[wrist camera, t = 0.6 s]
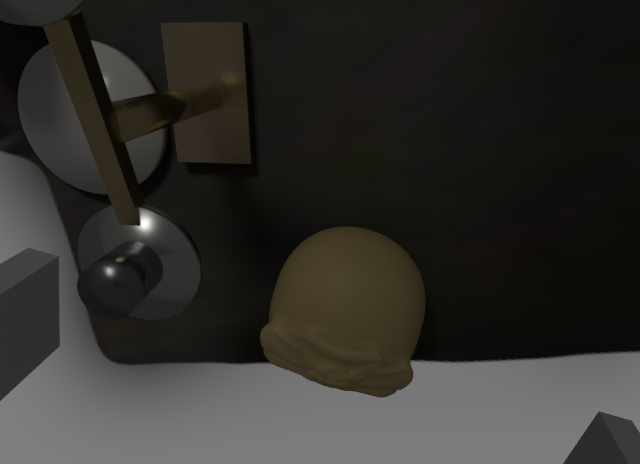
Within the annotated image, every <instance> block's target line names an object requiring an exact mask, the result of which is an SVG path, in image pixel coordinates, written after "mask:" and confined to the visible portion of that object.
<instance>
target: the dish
mask: <svg viewBox="0 0 640 464" xmlns="http://www.w3.org/2000/svg"><path fill="white" fill-rule="evenodd" d="M91 42H92V45H93V48H94V51H95V54H96V57H97V60H98V63H99V66H100V69H101V72H102V75H103V78H104V81H105V84H106V87H107V90H108V93H109V96H110V99H111V102H113V101H118V100H123V99H128V98H133V97H138V96H143V95H148V94H152V93H157V92H159V91H158V89H157V87H156V86H155V84H154V82H153V81H152V79H151V78H150V76H149V75H148V74H147V72H146V71H145V70H144V69H143V68H142V67H141V66H140V65H139V64H138V63H137V62H136V61H135V60H134V59H133V58H131V57H130V56H129V55H127V54H126V53H125V52H123V51H122V50H120V49H118V48H116V47H114V46H112V45H109V44H107V43H104V42H101V41H96V40H91ZM18 110H19V115H20V120H21V123H22V127H23V130H24V132H25V134H26V137H27V139H28V141H29V143H30V145H31V146H32V148H33V150H34V151H35V153H36V154H37V156H38V157H39V158H40V159H41V161H42V162H43V163H44V164H45V165H46V166H47V167H48V168H49V169H50V170H51V171H52V172H53V173H54V174H56V175H57V176H58V177H59V178H61V179H62V180H64V181H65V182H67V183H68V184H70V185H72V186H74V187H76V188H79V189H81V190H84V191H87V192H92V193H97V194H108V193H107V191H106V188H105V186H104V183H103V181H102V178H101V175H100V173H99V170H98V168H97V165H96V162H95V160H94V157H93V155H92V152H91V150H90V147H89V144H88V142H87V139H86V137H85V134H84V132H83V129H82V126H81V124H80V121H79V119H78V116H77V113H76V111H75V108H74V106H73V103H72V101H71V98H70V95H69V93H68V90H67V88H66V85H65V83H64V80H63V77H62V75H61V72H60V70H59V67H58V64H57V62H56V59H55V57H54V54H53V52H52V49H51V46H50V44H48V45H46V46H45V47H43V48H42V49H40V50H39V51H38V52H37V53H36V54H35V55H33V56H32V58H31V59H30V60H29V62H28V63H27V65H26V67H25V69H24V71H23V73H22V76H21V79H20V83H19V88H18ZM168 132H169V130H168V127H166V128H163V129H160V130H158V131H155V132H152V133H149V134H147V135H144V136H141V137H139V138H136V139H133V140H131V141H128V142H125V144H126V147H127V150H128V153H129V156H130V159H131V162H132V165H133V168H134V171H135V174H136V177H137V180H138V183H139V184H141V183H142V182H144V181H145V180H147V179H148V178H149V177H150V176H151V175H152V174H153V173H154V172H155V171H156V170H157V168H158V167H159V165H160V163H161V161H162V160H163V158H164V155H165V152H166V148H167V143H168Z"/></svg>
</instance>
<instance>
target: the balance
mask: <svg viewBox="0 0 640 464" xmlns="http://www.w3.org/2000/svg"><path fill="white" fill-rule="evenodd" d="M89 2H90V0H0V21H3V22H6V23H11V24H15V25H27V26H43V28H44V31H45V34H46V36H47V39H48V41H49V44H50V46H51V49H52V52H53V54H54V57H55V59H56V62H57V64H58V67H59V70H60V72H61V75H62V77H63V80H64V83H65V85H66V88H67V90H68V93H69V95H70V98H71V101H72V103H73V106H74V108H75V111H76V113H77V116H78V119H79V121H80V124H81V126H82V129H83V132H84V134H85V137H86V139H87V142H88V144H89V147H90V150H91V152H92V155H93V157H94V160H95V162H96V165H97V168H98V170H99V173H100V175H101V178H102V181H103V183H104V186H105V188H106V191H107V193H108V196H109V199H110V201H111V204H112V205H111V206H109V207H107V208H105V209H103V210H101V211H100V212H98V213H96V214H95V215H94V216H92V217H91V218H90V219H89V220H88V221H87V223H86V224H85V226H84V227H83V229H82V231H81V233H80V237H79V240H78V259H79V263H80V267H81V270H82V273H81V274H80V276H79V278H78V283H77V288H78V293H79V296H80V298H81V300H82V302H83V303H84V304H85V305H86V307H87V308H88V309H90V310H91V311H92V312H93V313H95V314H97V315H98V316H101V317H103V318H107V319H121V318H124V317H126V316H127V315H129V316H132V317H135V318H139V319H146V320H157V319H164V318H168V317H171V316H173V315H175V314H177V313H179V312H181V311H182V310H183V309H184V308H185V307H186V306H187V305H188V304H189V303H190V302H191V301H192V299H193V298H194V296H195V295H196V293H197V292H198V290H199V287H200V284H201V280H202V261H201V257H200V253H199V250H198V248H197V246H196V244H195V242H194V240H193V239H192V237H191V235H190V234H189V233H188V232H187V230H186V229H185V228H184V227H183V226H182V225H181V224H180V223H179V222H178V221H177V220H176V219H174V218H173V217H172V216H170V215H169V214H167V213H166V212H164V211H162V210H160V209H158V208H156V207H153V206H150V205H147V204H145V202H144V199H143V196H142V193H141V189H140V186H139V183H138V180H137V177H136V174H135V171H134V168H133V165H132V162H131V159H130V156H129V153H128V150H127V147H126V144H125V142H128V141H131V140H133V139H136V138H139V137H141V136H144V135H147V134H149V133H152V132H155V131H158V130H160V129H163V128H166V127H168V126H171V125H173V126H174V134H175V142H176V150H177V158H178V162H201V163H231V164H252V163H253V162H254V161H255V145H254V128H253V111H252V95H251V78H250V61H249V44H248V27H247V23H244V22H214V23H160V24H161V32H162V40H163V48H164V56H165V63H166V71H167V79H168V87H169V90H167V91H162V92H157V93H152V94H148V95H143V96H138V97H133V98H128V99H123V100H118V101H113V102H111V99H110V96H109V93H108V90H107V87H106V84H105V81H104V78H103V75H102V72H101V69H100V66H99V63H98V60H97V57H96V54H95V51H94V48H93V45H92V42H91V39H90V36H89V33H88V30H87V27H86V24H85V21H84V18H83V15H82V12H81V10H82V9H83V8H84V7H85V6H86V5H87V4H88V3H89Z"/></svg>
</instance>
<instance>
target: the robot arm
mask: <svg viewBox="0 0 640 464" xmlns="http://www.w3.org/2000/svg"><path fill="white" fill-rule="evenodd" d="M58 260H59V257H58V256H55V255H52V254H48V253H45V252H42V251H37V250H34V249H31V248H27V249H25V250H24V251H22V252H20V253H18V254H17V255H15V256H13V257H12V258H10V259H8V260H6V261H4V262H3V263H1V264H0V401H1V400H2V399H3V398H4V397H5V396H6V395H7V394H8V393H9V392H10V391H11V390H13V389H14V388H15V387H16V386H17V385H18V384H19V383H20V382H21V381H22V380H23V379H24V378H25V377H27V376H28V375H29V374H30V373H31V372H32V371H33V370H34V369H35V368H36V367H37V366H38V365H40V364H41V363H42V362H43V361H44V360H45V359H46V358H47V357H48V356H49V355H50V354H51V353H52V352H54V351H55V349H57V348H58V347H59V345H60V341H59V340H60V338H59V337H60V336H59V261H58ZM563 464H640V433H639V431H638V430H637V428H636V427H635V425H634V423H633V422H632V421H630V420H627V419H623V418H620V417H616V416H613V415H610V414H606V413H603V412H598V414H597V415H596V416H595V418H594V419H593V421H592V422H591V424H590V425H589V427H588V428H587V430H586V431H585V433H584V434H583V436H582V437H581V438H580V440H579V441H578V443H577V444H576V446H575V447H574V449H573V450H572V452H571V453H570V454H569V456H568V458H567V459H566V460H565V462H564V463H563Z"/></svg>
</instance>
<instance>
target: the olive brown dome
mask: <svg viewBox="0 0 640 464" xmlns="http://www.w3.org/2000/svg"><path fill="white" fill-rule="evenodd" d="M424 315H425V289H424V284H423V280H422V277H421V274H420V272H419V270H418V268H417V266H416V264H415V263H414V261H413V260H412V258H411V257H410V256H409V255H408V253H407V252H406V251H405V250H404V249H403V248H402V247H400V246H399V245H398V244H397V243H395V242H394V241H392V240H391V239H389V238H388V237H386V236H384V235H382V234H380V233H377V232H375V231H372V230H368V229H364V228H359V227H335V228H330V229H326V230H323V231H320V232H318V233H316V234H314V235H312V236H310V237H309V238H307V239H306V240H304V241H303V242H302V243H301V244H300V245H299V246H298V247H297V248H296V249H295V250H294V251H293V252H292V253H291V255H290V256H289V258H288V259H287V261H286V262H285V264H284V266H283V268H282V270H281V273H280V275H279V278H278V281H277V284H276V287H275V290H274V293H273V296H272V300H271V304H270V310H269V323H268V324H267V325H265V326H264V327H263V329H262V330H261V333H260V341H261V345H262V347H263V348H264V354H265V356H266V358H267V359H268V360H269V361H270V362H271V363H272V364H274V365H276V366H278V367H281V368H284V369H287V370H289V371H292V372H295V373H297V374H300V375H302V376H303V377H305V378H307V379H308V380H311V381H314V382H317V383H319V384H321V385H324V386H328V387H331V388H337V389H340V390H345V391H356V392H360V393H364V394H368V395H372V396H376V397H387V396H389V395H392V394H394V393H395V392H396V391H397V390H401V389H403V388H405V387H406V386H407V385H408V384H409V383H410V382H411V381H412V378H413V370H412V368H411V365H410V358H411V356H412V355H413V352H414V350H415V348H416V345H417V342H418V339H419V335H420V331H421V328H422V324H423V320H424Z"/></svg>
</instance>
